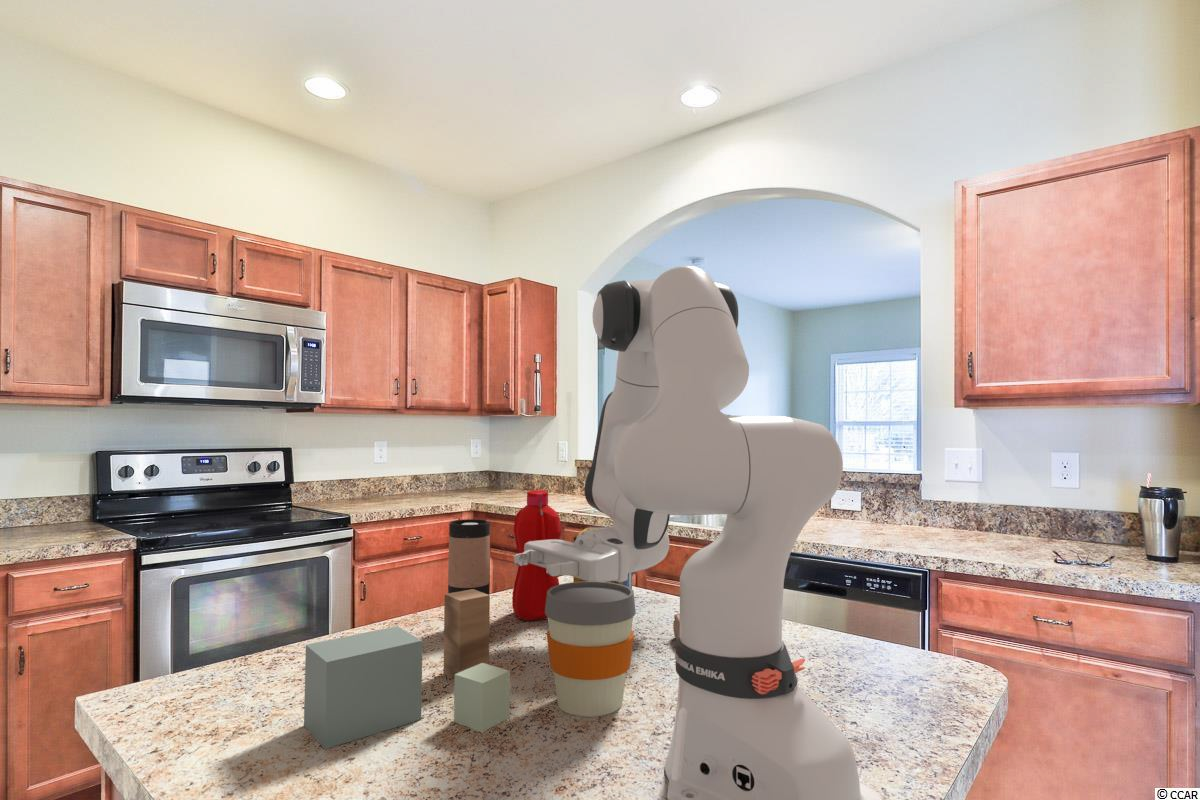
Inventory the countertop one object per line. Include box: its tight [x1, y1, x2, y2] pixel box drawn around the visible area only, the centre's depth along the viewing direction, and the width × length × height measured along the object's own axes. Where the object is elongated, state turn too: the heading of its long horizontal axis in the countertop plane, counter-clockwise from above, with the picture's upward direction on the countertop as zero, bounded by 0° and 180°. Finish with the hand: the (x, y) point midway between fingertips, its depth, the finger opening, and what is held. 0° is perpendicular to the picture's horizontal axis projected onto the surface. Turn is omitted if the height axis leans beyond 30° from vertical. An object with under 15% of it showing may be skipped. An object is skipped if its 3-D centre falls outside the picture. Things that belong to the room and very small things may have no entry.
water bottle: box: [511, 489, 562, 622], centre depth 129 cm, size 9×11×25 cm
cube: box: [453, 663, 511, 733], centre depth 83 cm, size 5×5×6 cm
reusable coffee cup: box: [545, 581, 637, 718], centre depth 89 cm, size 12×13×15 cm
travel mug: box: [447, 518, 491, 595], centre depth 120 cm, size 8×8×20 cm
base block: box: [303, 626, 423, 750], centre depth 82 cm, size 8×12×10 cm, turn 131°
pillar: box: [442, 589, 491, 681], centre depth 98 cm, size 5×5×12 cm
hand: (532, 565), depth 107 cm, fingers open, 8 cm apart
